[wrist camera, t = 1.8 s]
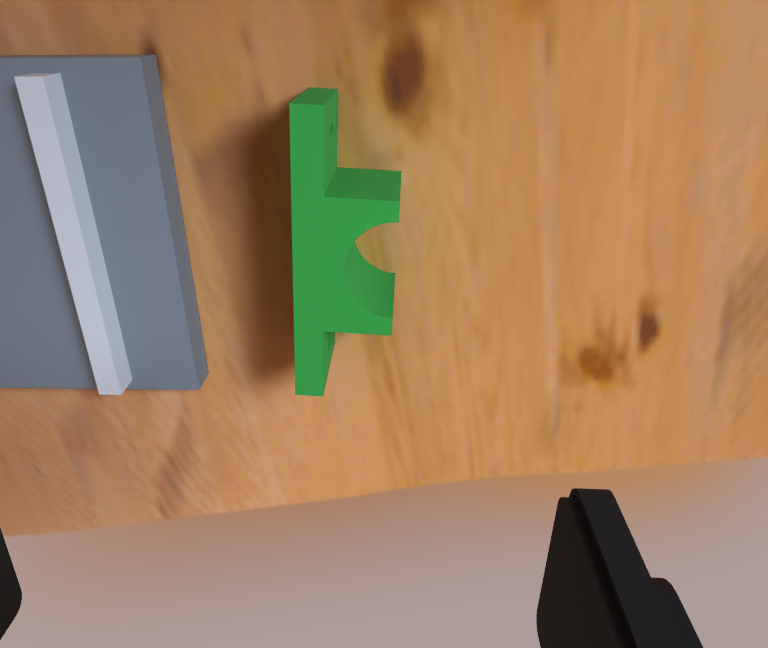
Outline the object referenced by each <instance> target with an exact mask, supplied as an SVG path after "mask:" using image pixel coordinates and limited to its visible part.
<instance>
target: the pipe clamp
mask: <svg viewBox="0 0 768 648" xmlns="http://www.w3.org/2000/svg"><path fill="white" fill-rule="evenodd" d="M289 123H290V170H291V216H292V263H293V309H294V355H295V395H308V396H323V394H324V389H325V385H326V380H327V376H328V371H329V367H330V362H331V358H332V353H333V349H334V344H335V332H342V333H359V334H375V335H392V320H393V301H394V282H395V273H389V272H385V271H381V270H379V269H377V268H375V267H373V266H372V265H371V264H369V263H368V262H367V261H366V260H365V259H364V258H363V257H362V255H361V254H360V252H359V251H358V248H357V246H356V243H355V240H356V239H357V238H358V237H359V236H360V235H361V234H362V233H364V232H365V231H367V230H368V229H370V228H372V227H374V226H377V225H380V224H384V223H391V222H399V207H400V188H401V171H390V170H373V169H355V168H338V167H337V127H338V89H327V88H308V89H306V90H305V91H304V92H303V93H301V94H300V95H299V96H298V97H296V98H295V99H294V100H292V101H291V102H290V103H289Z"/></svg>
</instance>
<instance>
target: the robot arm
mask: <svg viewBox="0 0 768 648" xmlns="http://www.w3.org/2000/svg"><path fill="white" fill-rule="evenodd" d="M21 600H22V592H21V588H20V585H19V582H18V579H17V576H16V573H15V570H14V567H13V564H12V561H11V558H10V555H9V552H8V549H7V546H6V544H5V540H4V538H3V535H2V532H1V529H0V640H1V638H2V636H3V635H4V633H5V632H6V630H7V629H8V627H9V626H10V624H11V623H12V621H13V620H14V618H15V616H16V615H17V613H18V610H19V608H20V605H21ZM537 632H538V637H539V641H540V646H541V648H703V646H702V644H701V642H700V640H699V638H698V636H697V634H696V632H695V630H694V628H693V626H692V623H691V621H690V619H689V617H688V615H687V614H686V611H685V609H684V607H683V605H682V603H681V601H680V599H679V597H678V595H677V593H676V591H675V590H674V588H673V586H672V585H671V584H670V583H669V582H668V581H667V580H666V579H663V578H651V577H650V575H649V572H648V570H647V568H646V566H645V564H644V561H643V559H642V557H641V555H640V552H639V551H638V548H637V546H636V544H635V541H634V539H633V537H632V535H631V532H630V530H629V528H628V526H627V524H626V521H625V519H624V517H623V515H622V513H621V510H620V508H619V506H618V504H617V502H616V499H615V497H614V495H613V494H612V492H611V491H610V490H603V489H602V490H601V489H576V488H575V489H572V491H571V493H570V496H569V497H568V498H567V497H561V498H560V499H559V501H558V505H557V510H556V516H555V521H554V526H553V531H552V536H551V542H550V547H549V552H548V557H547V562H546V567H545V573H544V577H543V583H542V588H541V593H540V598H539V603H538V608H537Z"/></svg>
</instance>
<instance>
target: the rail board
mask: <svg viewBox="0 0 768 648" xmlns="http://www.w3.org/2000/svg"><path fill="white" fill-rule="evenodd" d="M208 373H209V372H208V366H207V360H206V354H205V348H204V342H203V336H202V330H201V324H200V318H199V312H198V306H197V300H196V294H195V288H194V282H193V276H192V270H191V264H190V258H189V252H188V246H187V239H186V233H185V227H184V221H183V215H182V209H181V203H180V197H179V191H178V185H177V179H176V173H175V167H174V161H173V155H172V149H171V143H170V137H169V131H168V125H167V119H166V113H165V107H164V101H163V95H162V89H161V83H160V77H159V71H158V65H157V59H156V54H149V55H27V56H0V388H70V389H98V392H99V395H122V394H123V392H124V391H125V389H157V390H199V389H200V387H201V386H202V384H203V382H204V380H205V378H206V377H207V375H208Z"/></svg>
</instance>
